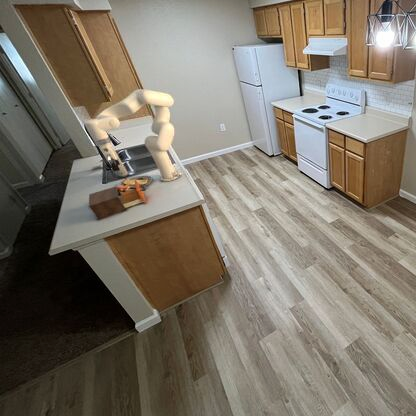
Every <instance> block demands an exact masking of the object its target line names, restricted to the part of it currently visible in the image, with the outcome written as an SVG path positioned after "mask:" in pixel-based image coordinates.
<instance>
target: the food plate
mask: <svg viewBox="0 0 416 416" xmlns="http://www.w3.org/2000/svg"><path fill="white" fill-rule="evenodd" d="M135 180H136V181H137V182H138V184H139V186H142V185H144V186H145V187H146V186H148V185H149V184H150V183H152V181H153V177H152V176H150V175H137V176H134V177H130V178H125V177H124V180H122V181H120V182H118V183H117V184H115V185H114V186H113V187H115V186H117V188H118V190H119V191H120V193H124V192H127V191H130V190H133V189H135V190H137V189H136V186H135V182H134V181H135ZM141 189H143V188H142V187H141Z"/></svg>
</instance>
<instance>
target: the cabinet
mask: <svg viewBox="0 0 416 416" xmlns="http://www.w3.org/2000/svg"><path fill="white" fill-rule="evenodd" d="M114 186H115V185H114ZM114 186H112V187H109V188H105V189H102V190H99V191H96V192H92V193H89V194H88V208H89V209H90V210H91V211H92V213H93V214H94V216H95V217H96V218H97V220H99V221H100V220H102V219H103V220H104V219H105V218H108V217H112V216H114V215H117V214H121V213H123V212H125V211H127V208H125V207H124V205H123V204H122V202H121V201H120V199H119V198H118V196H121V195H122V194H121V193H120V191H119V190H118V188H117V186H115V187H114Z"/></svg>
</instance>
